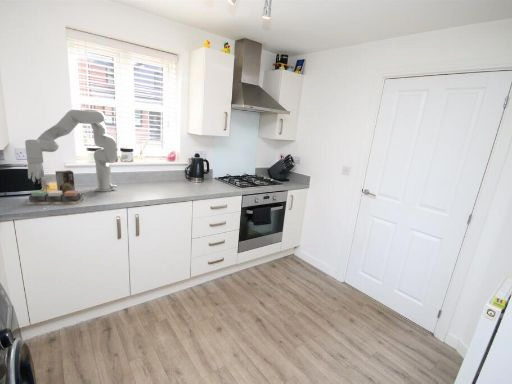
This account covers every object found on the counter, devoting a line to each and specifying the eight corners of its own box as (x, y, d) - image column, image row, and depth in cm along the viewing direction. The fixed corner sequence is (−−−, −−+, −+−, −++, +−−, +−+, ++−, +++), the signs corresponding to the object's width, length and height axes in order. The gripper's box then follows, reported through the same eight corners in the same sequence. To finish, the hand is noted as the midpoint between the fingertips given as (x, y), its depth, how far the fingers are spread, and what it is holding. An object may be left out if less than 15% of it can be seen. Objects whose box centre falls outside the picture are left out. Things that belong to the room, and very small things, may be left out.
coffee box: (72, 191, 192) (70, 170, 188) (75, 193, 188) (73, 171, 184) (57, 193, 185) (55, 171, 181) (60, 195, 181) (58, 172, 177)
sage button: (47, 195, 168) (46, 190, 168) (43, 198, 163) (42, 193, 162) (36, 196, 166) (35, 190, 166) (32, 198, 161) (31, 193, 160)
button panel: (83, 198, 178) (82, 192, 177) (78, 203, 168) (77, 196, 167) (34, 199, 169) (33, 192, 168) (26, 204, 159) (25, 197, 158)
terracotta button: (78, 195, 174) (77, 190, 173) (75, 198, 169) (75, 192, 168) (67, 195, 172) (67, 190, 171) (64, 198, 167) (64, 192, 166)
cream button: (62, 195, 171) (62, 190, 171) (59, 198, 166) (59, 192, 165) (52, 195, 169) (51, 190, 169) (48, 198, 164) (48, 193, 163)
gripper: (33, 158, 165) (36, 186, 169) (21, 161, 151) (25, 192, 155) (47, 158, 167) (50, 186, 171) (37, 162, 154) (40, 192, 158)
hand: (38, 189), depth 163 cm, fingers closed
